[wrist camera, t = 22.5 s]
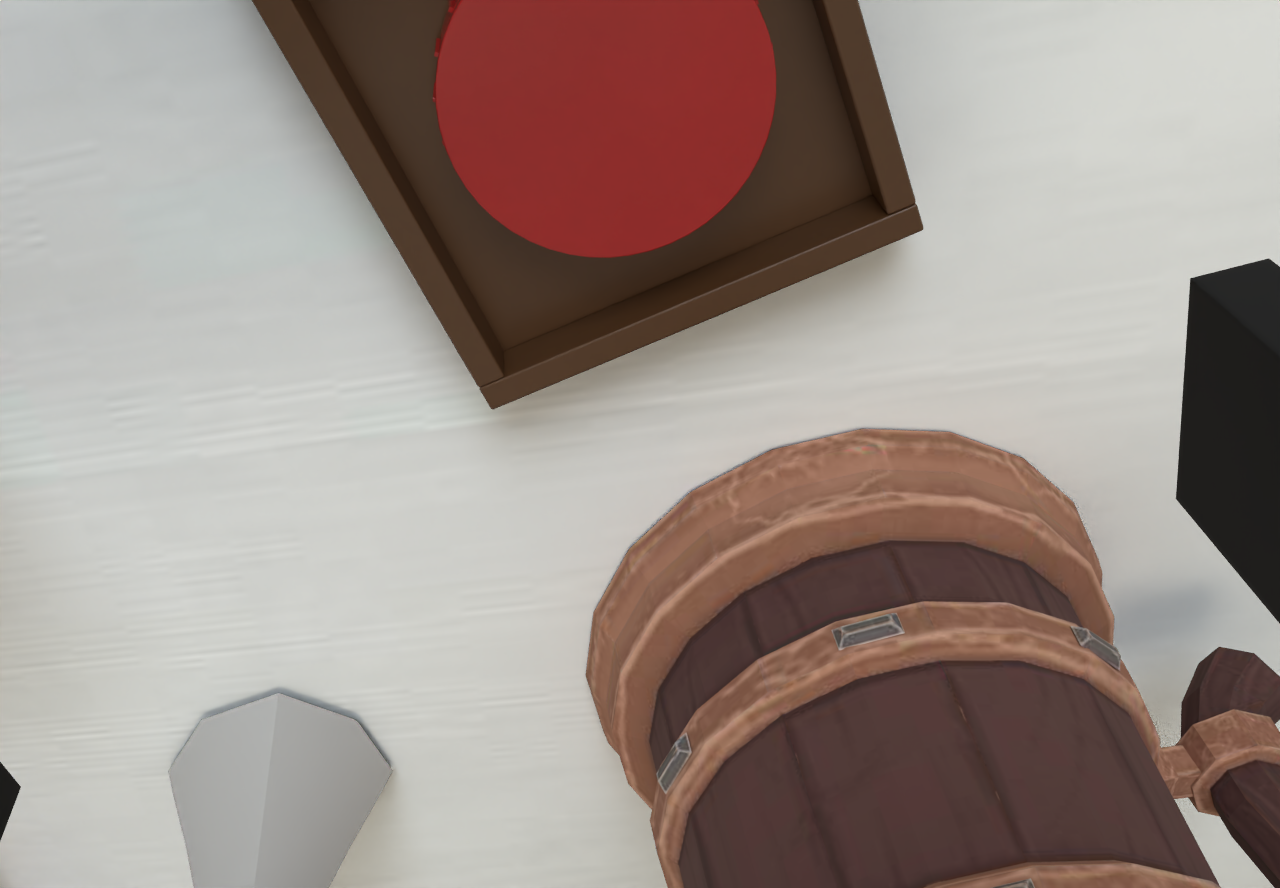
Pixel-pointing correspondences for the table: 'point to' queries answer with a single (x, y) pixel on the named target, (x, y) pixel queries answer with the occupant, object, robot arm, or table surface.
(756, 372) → the table surface
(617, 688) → the mug
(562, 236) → the lid
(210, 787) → the flask
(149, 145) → the table surface
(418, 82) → the tray
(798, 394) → the table surface
